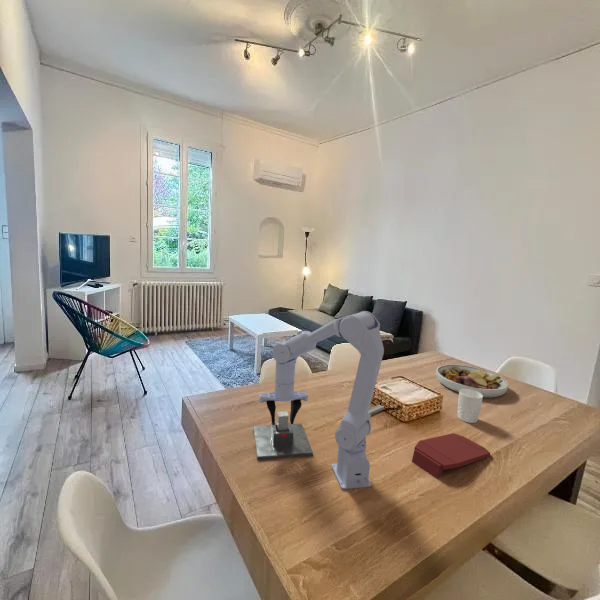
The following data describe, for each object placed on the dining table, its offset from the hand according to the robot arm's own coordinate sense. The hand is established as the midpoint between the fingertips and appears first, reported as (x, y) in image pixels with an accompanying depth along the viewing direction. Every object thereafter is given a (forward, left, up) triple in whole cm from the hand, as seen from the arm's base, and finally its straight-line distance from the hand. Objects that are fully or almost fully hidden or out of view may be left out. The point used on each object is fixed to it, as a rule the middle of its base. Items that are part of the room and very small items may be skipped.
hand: (282, 422), depth 103 cm
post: (0, 0, -5) cm, 5 cm away
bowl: (+35, -94, -7) cm, 101 cm away
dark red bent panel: (-13, -49, -7) cm, 52 cm away
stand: (0, 0, -6) cm, 6 cm away
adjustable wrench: (+17, -38, -7) cm, 42 cm away
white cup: (+7, -71, -6) cm, 72 cm away
